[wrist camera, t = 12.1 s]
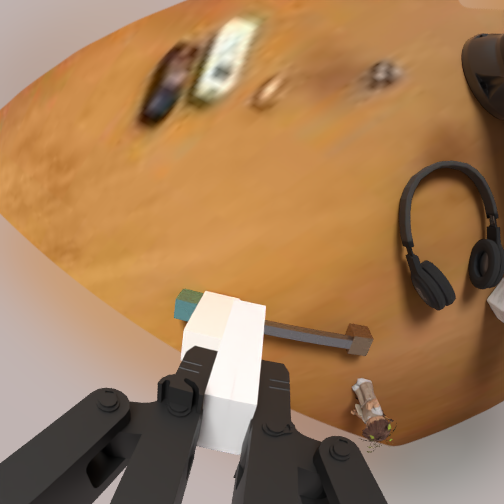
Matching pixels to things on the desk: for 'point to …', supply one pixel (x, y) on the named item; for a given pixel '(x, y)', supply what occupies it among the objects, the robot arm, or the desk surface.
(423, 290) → the headphones
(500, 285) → the skincare box
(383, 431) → the toy
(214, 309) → the sleeve
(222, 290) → the desk surface
